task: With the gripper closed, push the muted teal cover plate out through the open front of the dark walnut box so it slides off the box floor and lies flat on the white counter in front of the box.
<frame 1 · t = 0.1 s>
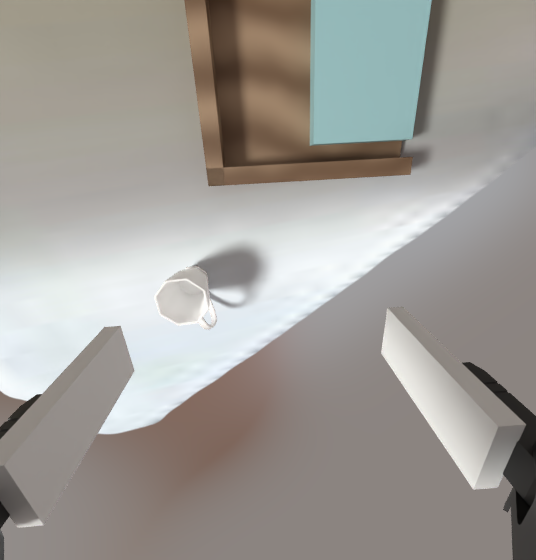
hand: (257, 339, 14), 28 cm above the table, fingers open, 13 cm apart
cover plate: (360, 77, 32), point 1 cm above the table, touching walnut box
cup: (200, 285, 43), on the table
walnut box: (317, 81, 33), on the table
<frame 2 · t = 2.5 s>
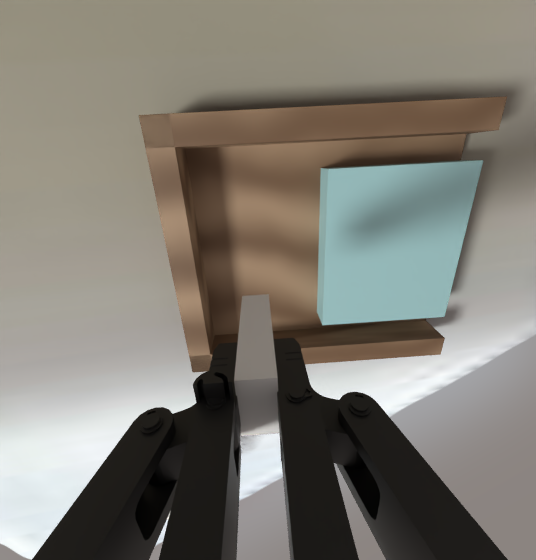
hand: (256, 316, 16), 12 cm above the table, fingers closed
cover plate: (381, 244, 26), point 1 cm above the table, touching walnut box
walnut box: (327, 245, 26), on the table
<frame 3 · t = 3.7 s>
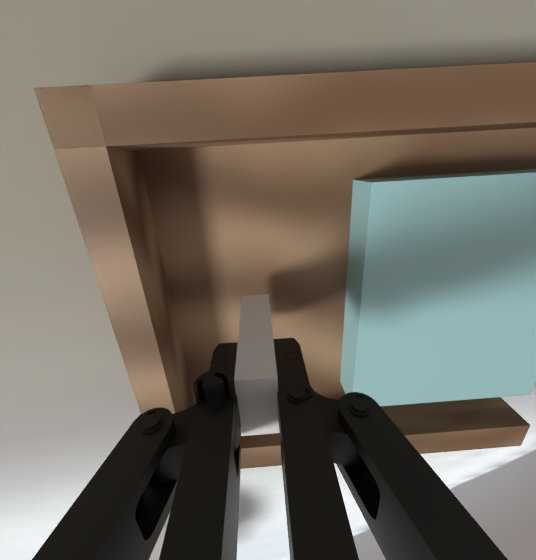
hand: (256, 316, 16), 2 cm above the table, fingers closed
cover plate: (437, 289, 17), point 1 cm above the table, touching walnut box
cup: (165, 527, 28), on the table
walnut box: (356, 289, 18), on the table
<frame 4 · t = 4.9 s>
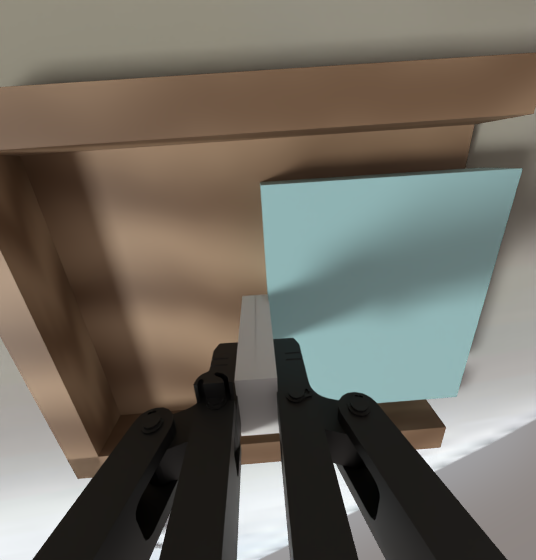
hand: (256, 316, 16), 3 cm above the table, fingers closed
cover plate: (361, 291, 17), point 1 cm above the table, touching gripper
walnut box: (269, 292, 18), on the table
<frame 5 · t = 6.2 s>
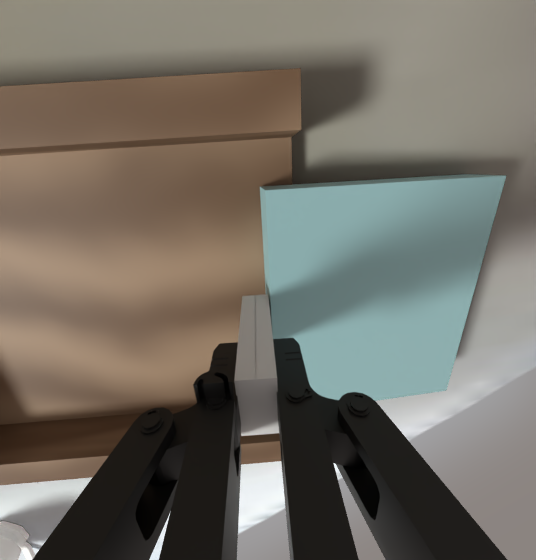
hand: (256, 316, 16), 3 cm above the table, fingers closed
cover plate: (356, 293, 18), on the table, touching gripper, walnut box
cup: (19, 537, 28), on the table
walnut box: (127, 302, 18), on the table
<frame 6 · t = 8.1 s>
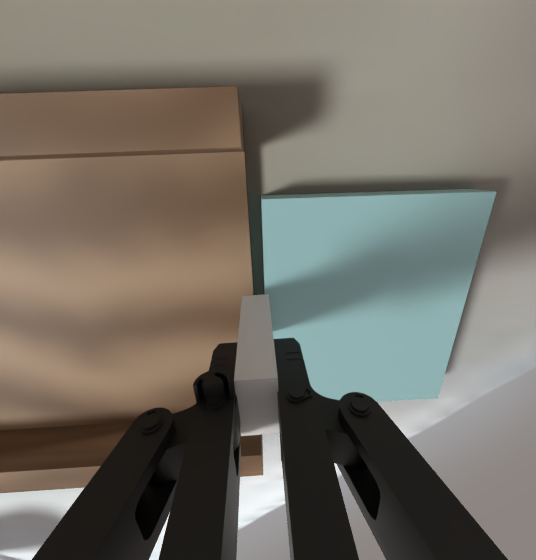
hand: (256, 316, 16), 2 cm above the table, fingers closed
cover plate: (351, 297, 19), on the table, touching gripper
walnut box: (84, 312, 18), on the table
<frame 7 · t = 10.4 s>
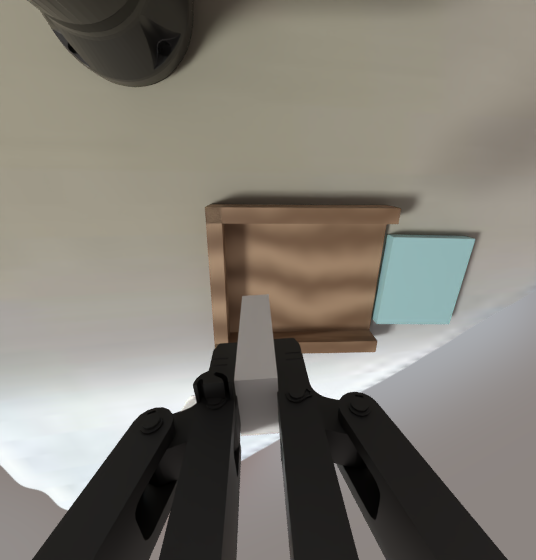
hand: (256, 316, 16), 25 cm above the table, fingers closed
cover plate: (414, 277, 43), on the table
walnut box: (305, 278, 42), on the table
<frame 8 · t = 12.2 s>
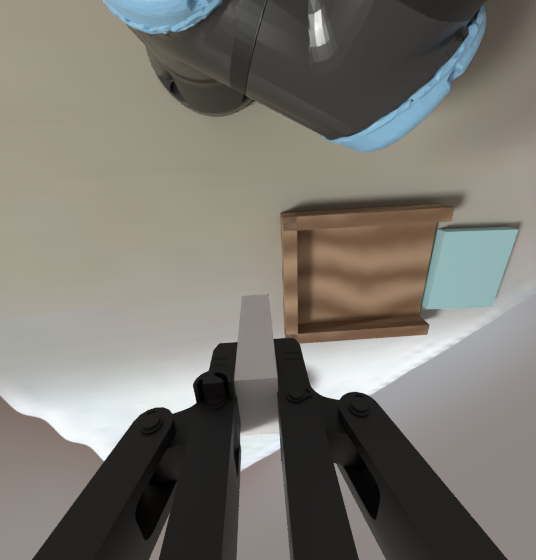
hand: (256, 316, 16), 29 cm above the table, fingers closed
cover plate: (459, 266, 48), on the table
walnut box: (362, 272, 47), on the table
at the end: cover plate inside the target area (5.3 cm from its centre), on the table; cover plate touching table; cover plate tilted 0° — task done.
